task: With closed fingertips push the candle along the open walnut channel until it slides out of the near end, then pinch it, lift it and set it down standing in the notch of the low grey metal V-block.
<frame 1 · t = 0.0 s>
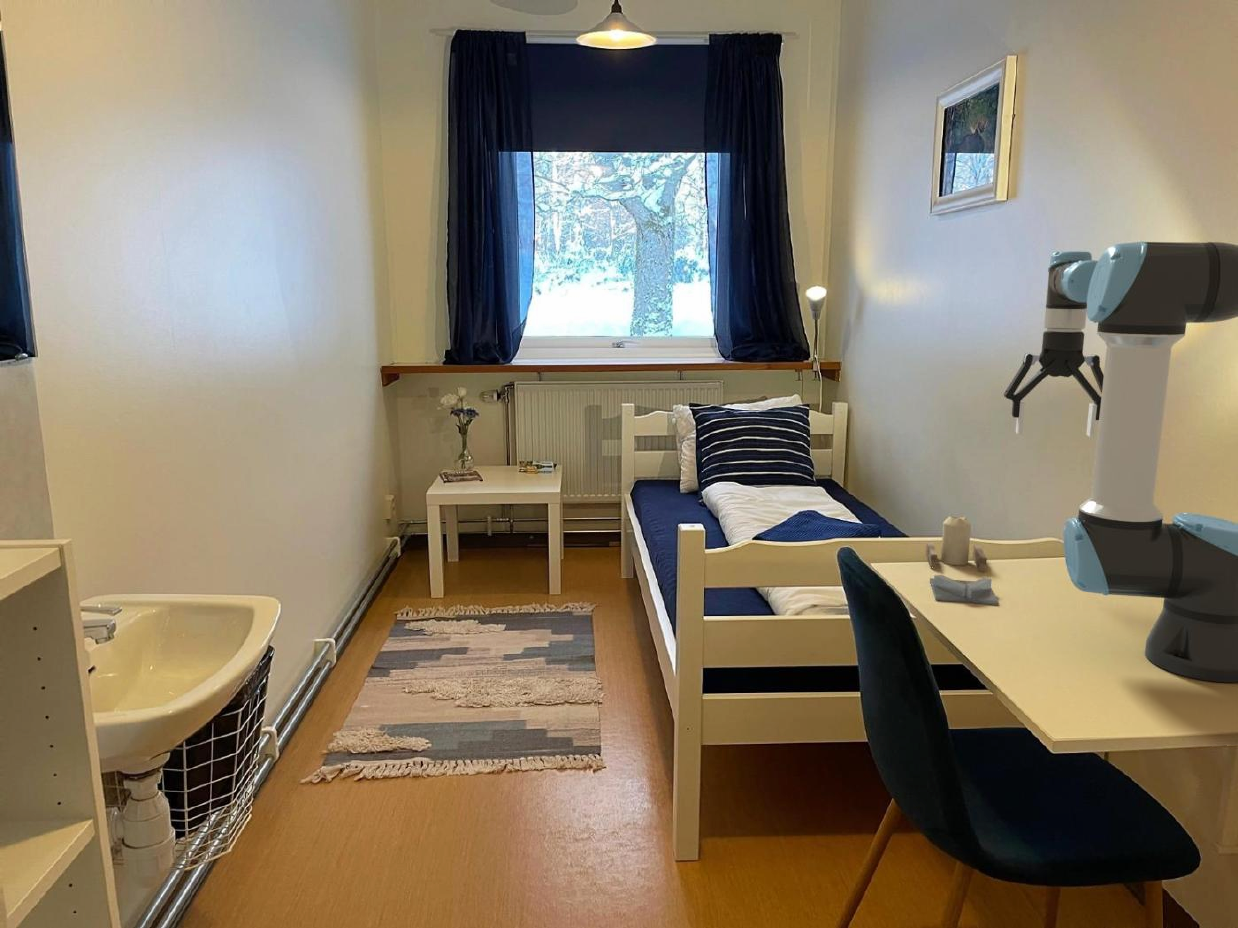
hand: (1054, 434, 193), 28 cm above the table, fingers open, 13 cm apart
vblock: (963, 594, 180), on the table
channel: (954, 563, 200), on the table
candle: (954, 562, 201), on the table
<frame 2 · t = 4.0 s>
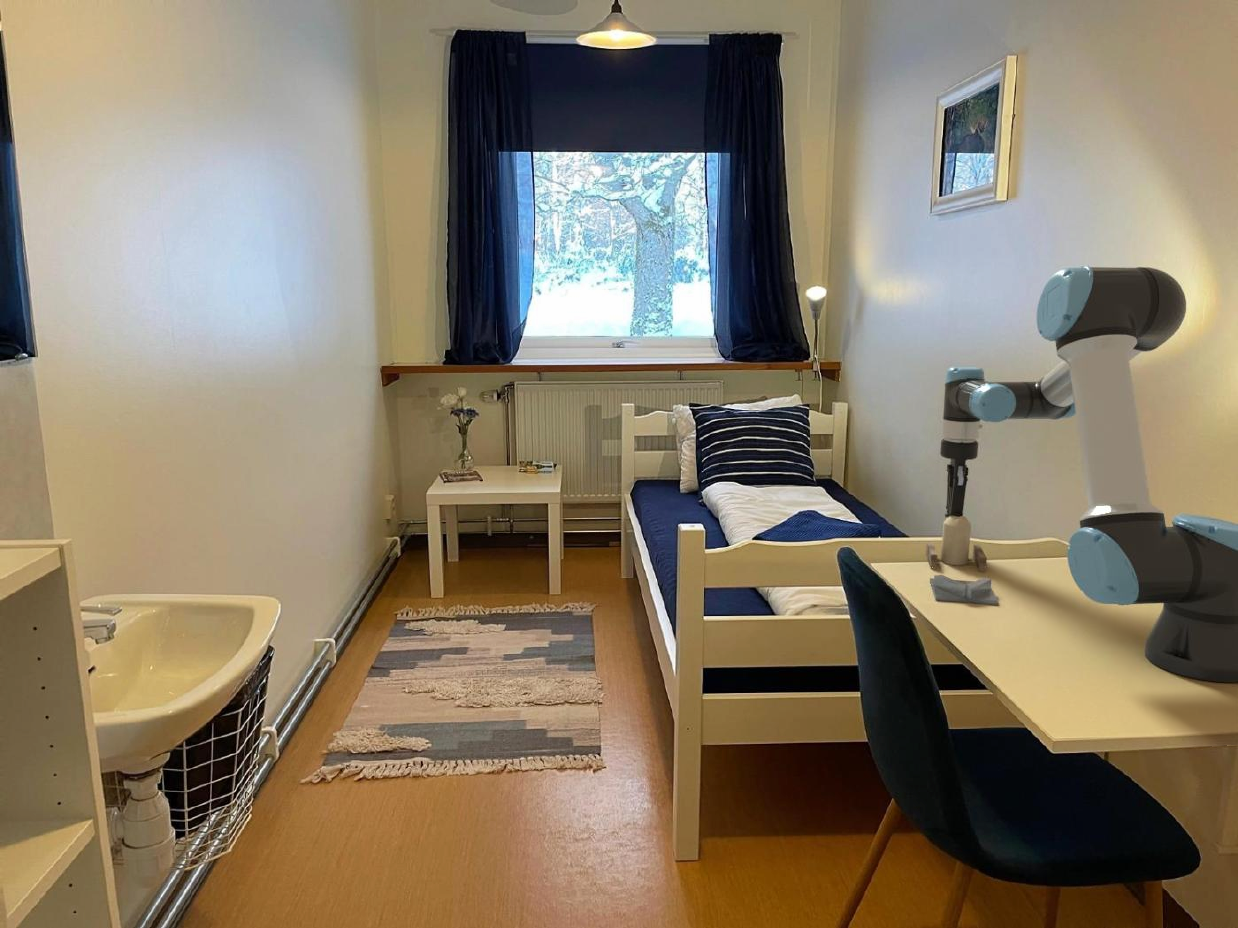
hand: (951, 545, 206), 2 cm above the table, fingers closed
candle: (954, 562, 201), on the table, touching gripper
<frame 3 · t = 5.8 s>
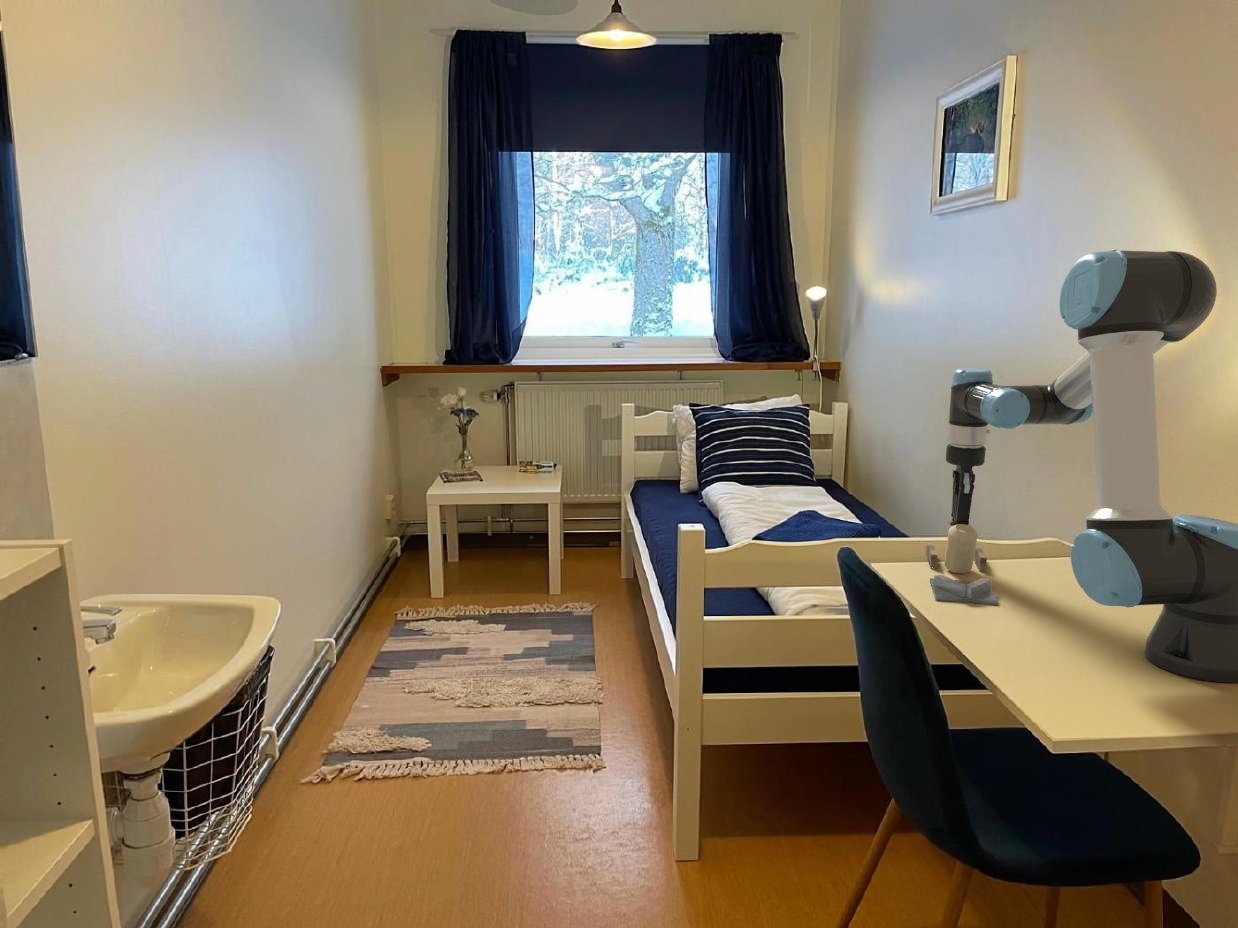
hand: (956, 554, 197), 3 cm above the table, fingers closed
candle: (957, 566, 195), point 1 cm above the table, touching gripper, hand
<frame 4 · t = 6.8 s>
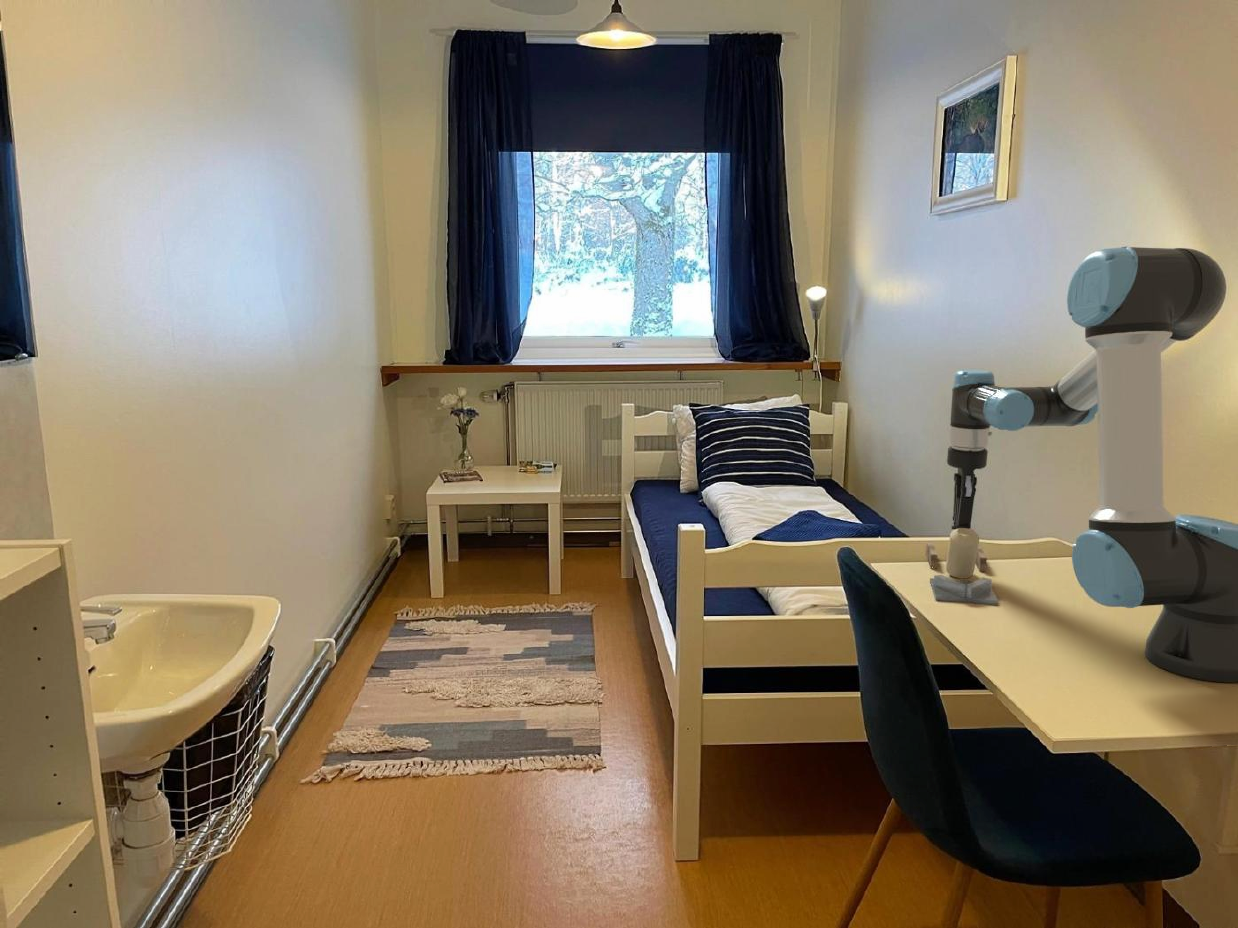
hand: (958, 558, 195), 3 cm above the table, fingers closed
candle: (959, 570, 192), point 1 cm above the table, touching gripper, hand
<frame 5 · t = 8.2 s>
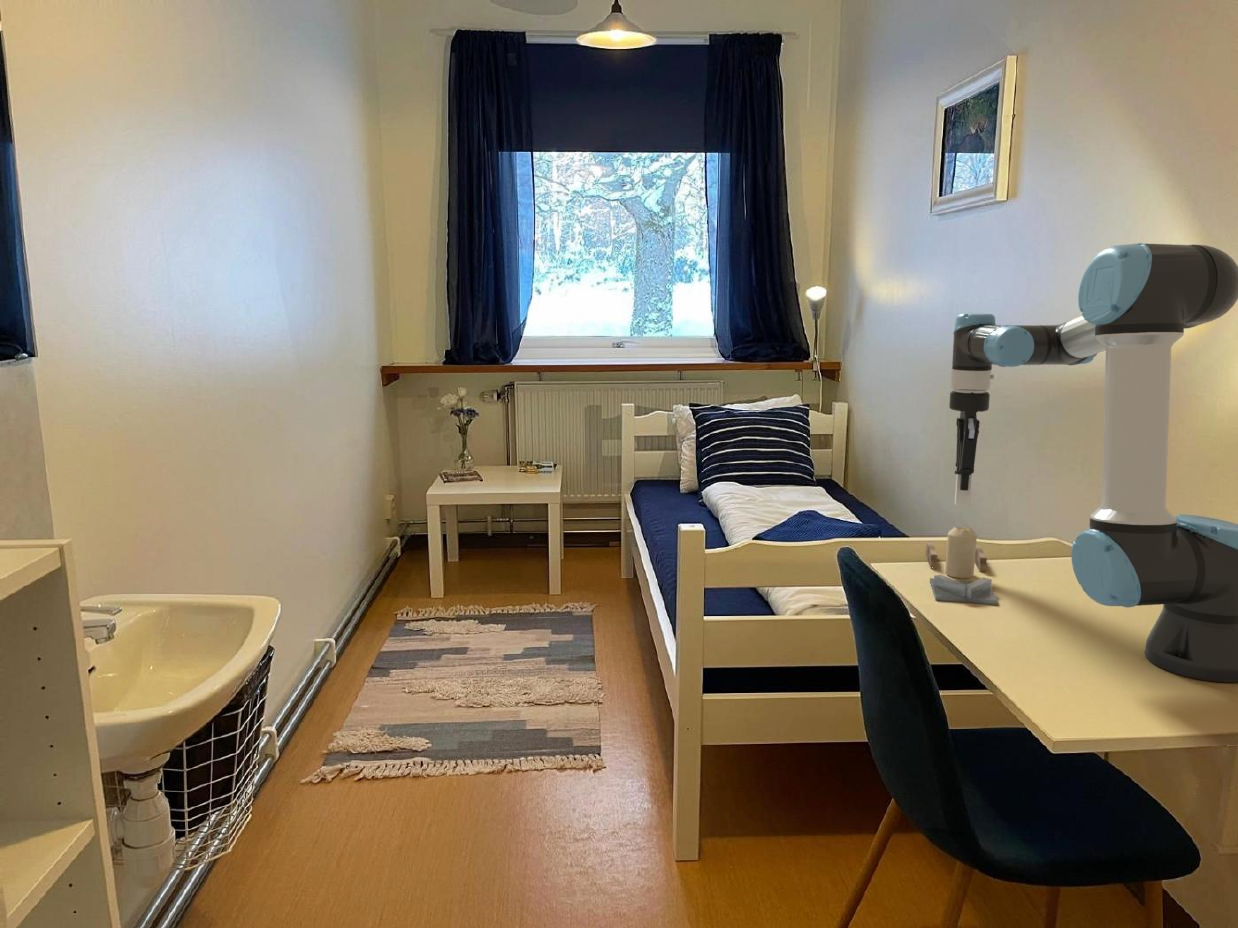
hand: (961, 504, 194), 14 cm above the table, fingers closed
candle: (959, 575, 192), on the table
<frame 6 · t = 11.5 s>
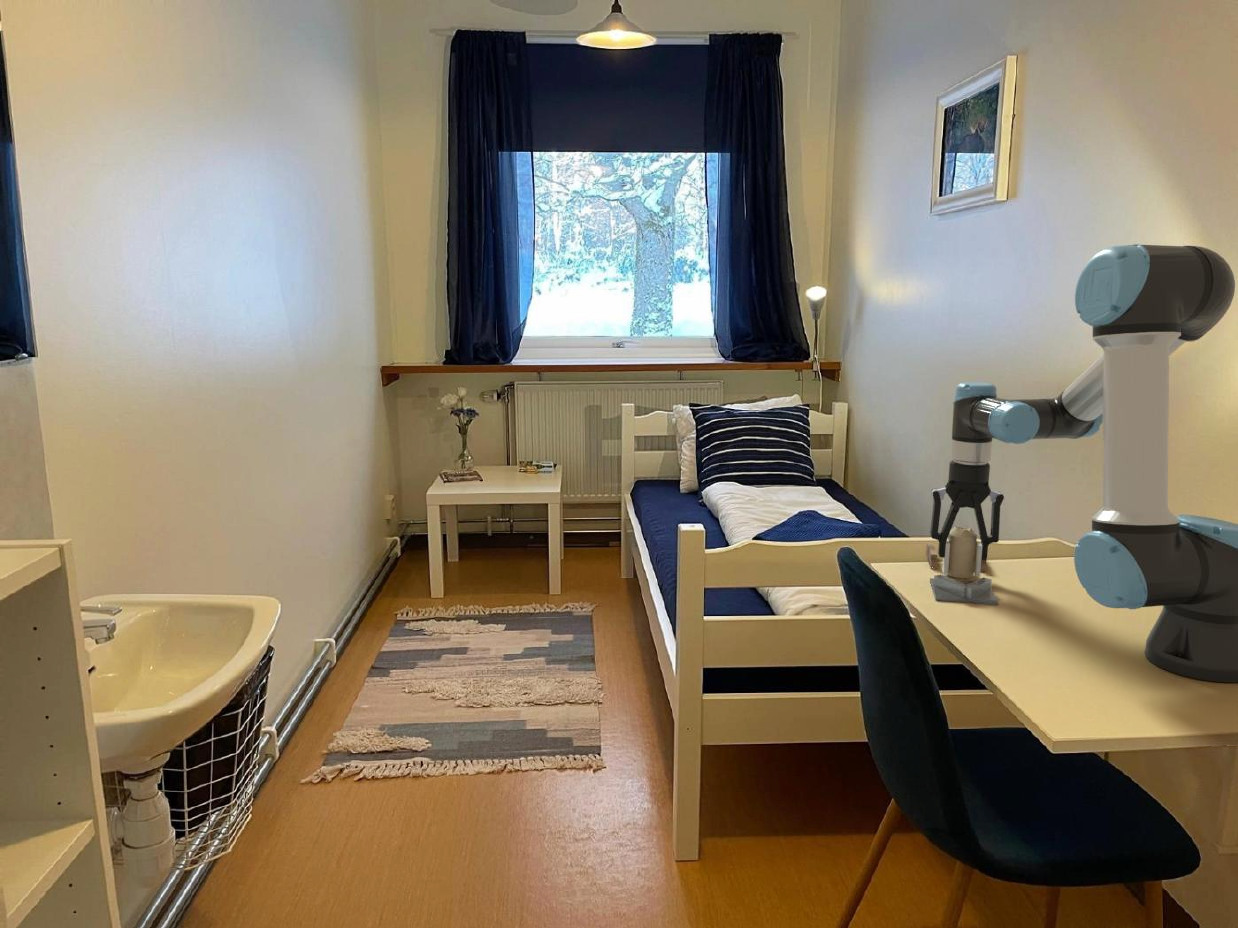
hand: (960, 573, 190), 1 cm above the table, fingers closed on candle, 5 cm apart
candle: (959, 575, 192), on the table, touching gripper
when the fingers open (4 cm above the table, at t = 15.7 s): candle drops 2 cm, resting on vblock.
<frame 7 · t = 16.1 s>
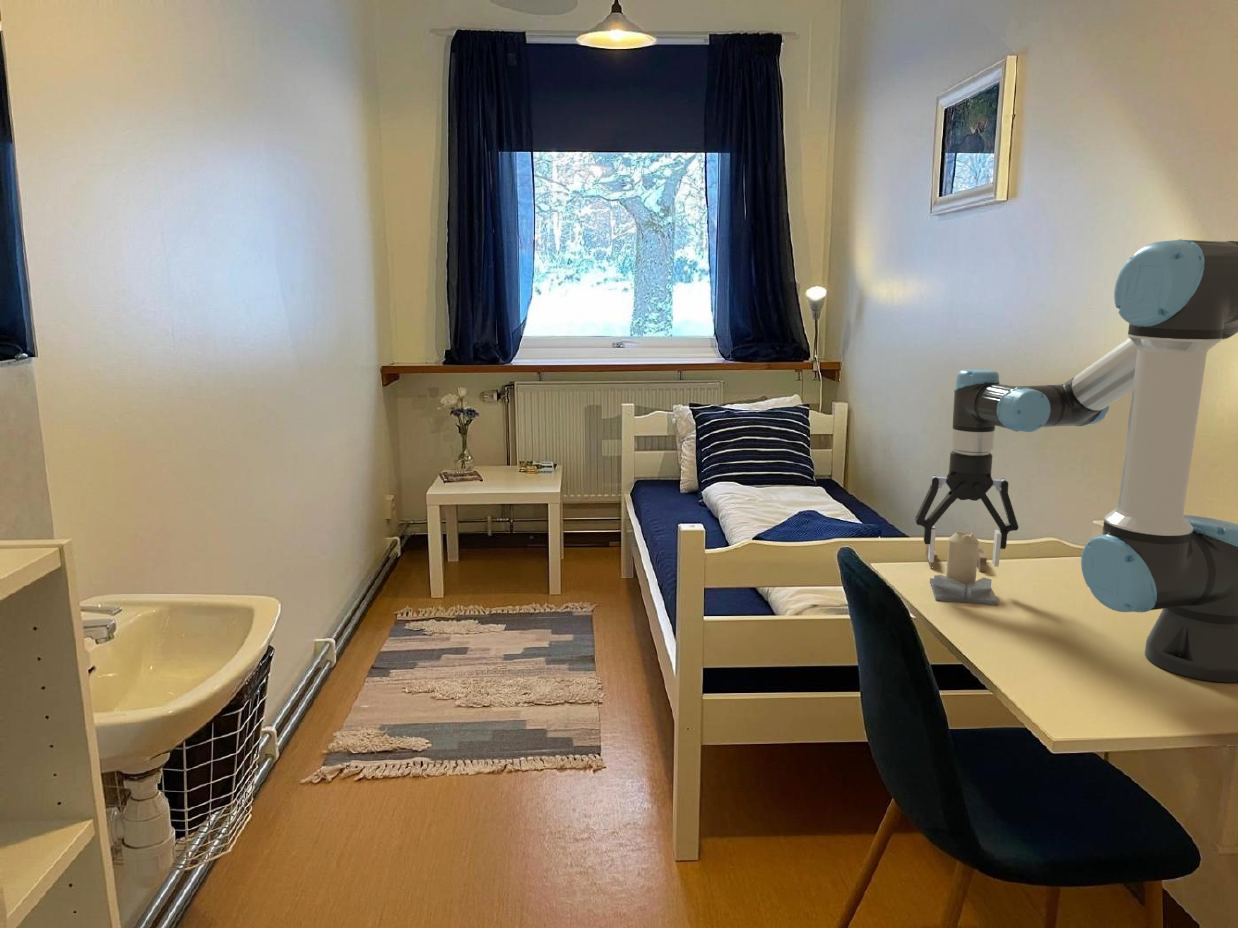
hand: (962, 562, 182), 5 cm above the table, fingers open, 11 cm apart
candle: (960, 582, 185), point 1 cm above the table, touching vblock
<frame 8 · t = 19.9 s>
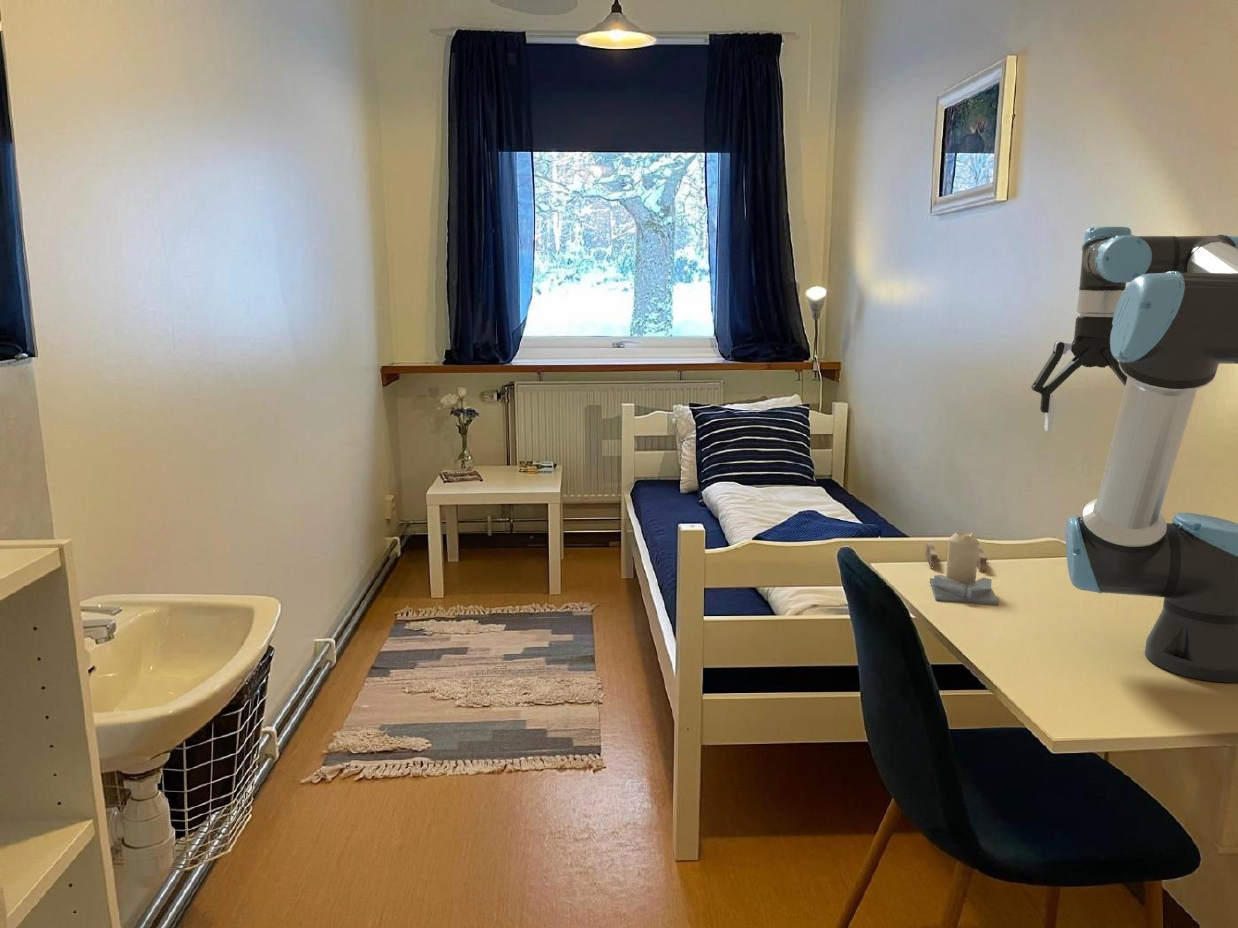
hand: (1087, 432, 173), 32 cm above the table, fingers open, 13 cm apart
nothing on the table moved.
at the end: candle 1.4 cm from the target spot on the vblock, point 0.6 cm above the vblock's base; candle tilted 0°; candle moved 16.6 cm from its start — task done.
